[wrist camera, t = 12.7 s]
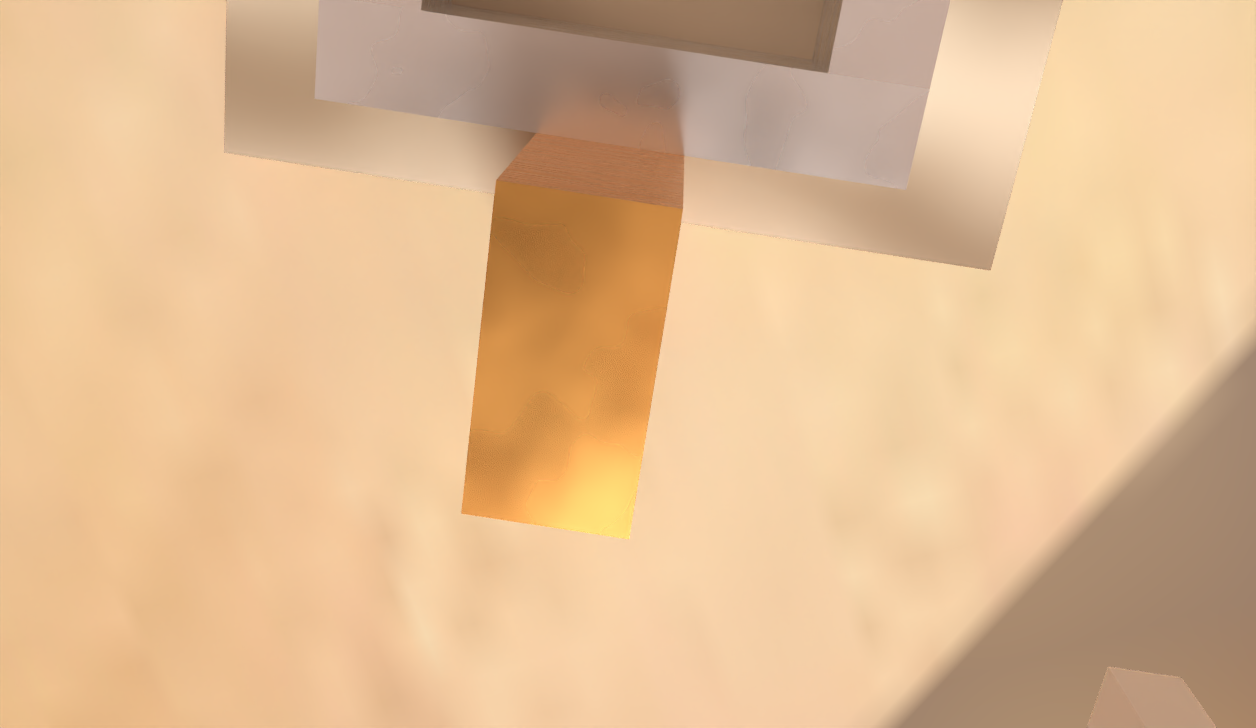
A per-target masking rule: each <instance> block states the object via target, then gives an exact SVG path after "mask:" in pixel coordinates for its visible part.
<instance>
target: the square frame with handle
mask: <svg viewBox="0 0 1256 728" xmlns="http://www.w3.org/2000/svg"><path fill="white" fill-rule="evenodd" d="M949 5H950V0H824V1H823V6H822V12H821V17H820V22H819V27H818V32H817V37H816V42H815V47H814V52H813V57H812V60H810V59H804V58H797V57H791V56H784V55H778V54H772V53H765V52H759V51H752V50H746V49H739V48H733V47H726V46H720V45H713V44H707V43H700V42H694V41H687V40H681V39H674V38H668V37H661V36H655V35H649V34H642V33H636V32H629V31H623V30H616V29H610V28H603V27H597V26H590V25H584V24H577V23H571V22H564V21H558V20H551V19H545V18H539V17H532V16H526V15H519V14H513V13H506V12H500V11H493V10H487V9H480V8H474V7H467V6H461V5H454V4H452V0H319V10H318V33H317V55H316V77H315V99H320V100H326V101H333V102H339V103H346V104H352V105H358V106H365V107H371V108H378V109H384V110H391V111H397V112H404V113H410V114H417V115H423V116H430V117H436V118H443V119H449V120H456V121H462V122H469V123H475V124H482V125H488V126H495V127H501V128H508V129H514V130H521V131H527V132H533V133H536V134H535V135H534V136H533V138H532V139H531V140H530V141H529V142H528V143H527V145H526V146H525V147H524V148H523V149H522V150H521V152H520V153H519V154H518V155H517V156H516V157H515V159H514V160H513V161H512V162H511V163H510V164H509V166H508V167H507V168H506V169H505V170H504V171H503V173H502V174H501V175H500V176H499V177H498V178H497V180H496V185H495V195H494V204H493V214H492V224H491V233H490V243H489V253H488V262H487V272H486V282H485V291H484V301H483V310H482V320H481V330H480V339H479V349H478V359H477V368H476V378H475V388H474V397H473V407H472V417H471V426H470V436H469V445H468V455H467V465H466V474H465V484H464V494H463V503H462V514H468V515H475V516H481V517H488V518H494V519H501V520H507V521H514V522H520V523H527V524H533V525H540V526H546V527H553V528H559V529H566V530H572V531H579V532H585V533H592V534H598V535H605V536H611V537H618V538H624V539H629V535H630V529H631V523H632V517H633V511H634V505H635V499H636V493H637V486H638V480H639V474H640V468H641V462H642V456H643V450H644V444H645V438H646V432H647V426H648V420H649V414H650V408H651V401H652V395H653V389H654V383H655V377H656V371H657V365H658V359H659V353H660V347H661V341H662V335H663V329H664V323H665V316H666V310H667V304H668V298H669V292H670V286H671V280H672V274H673V268H674V262H675V256H676V250H677V244H678V237H679V231H680V225H681V219H682V213H683V194H684V156H689V157H695V158H702V159H708V160H715V161H721V162H728V163H734V164H741V165H747V166H754V167H760V168H767V169H773V170H780V171H786V172H793V173H799V174H806V175H812V176H819V177H825V178H832V179H838V180H845V181H851V182H857V183H864V184H870V185H877V186H883V187H890V188H896V189H903V190H906V188H907V184H908V179H909V175H910V171H911V167H912V162H913V158H914V154H915V150H916V145H917V141H918V137H919V133H920V128H921V124H922V120H923V115H924V111H925V107H926V103H927V98H928V94H929V90H930V86H931V81H932V77H933V73H934V69H935V64H936V60H937V56H938V52H939V47H940V43H941V39H942V35H943V30H944V26H945V22H946V17H947V13H948V9H949Z"/></svg>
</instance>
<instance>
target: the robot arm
mask: <svg viewBox="0 0 1256 728" xmlns="http://www.w3.org/2000/svg"><path fill="white" fill-rule="evenodd" d="M1087 728H1217V727H1216V726H1215V725H1214V723H1213V722H1212V720H1211V719H1210V717H1209V716H1208V715H1207V713H1206V712H1205V710H1204V709H1203V707H1202V706H1201V705H1200V703H1199V702H1198V700H1197V699H1196V698H1195V696H1194V695H1193V693H1192V692H1191V690H1190V689H1189V688H1188V686H1187V685H1186V683H1185V682H1184V681H1183V679H1182V678H1181V677H1176V676H1170V675H1163V674H1155V673H1149V672H1143V671H1136V670H1129V669H1122V668H1115V667H1108V668H1107V671H1106V674H1105V677H1104V680H1103V682H1102V685H1101V688H1100V691H1099V694H1098V697H1097V700H1096V702H1095V705H1094V708H1093V711H1092V714H1091V717H1090V720H1089V723H1088V725H1087Z"/></svg>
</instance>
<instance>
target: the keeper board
mask: <svg viewBox="0 0 1256 728" xmlns="http://www.w3.org/2000/svg"><path fill="white" fill-rule="evenodd" d="M823 1H824V0H452V4H454V5H461V6H467V7H474V8H480V9H487V10H493V11H500V12H506V13H513V14H519V15H526V16H532V17H539V18H545V19H551V20H558V21H564V22H571V23H577V24H584V25H590V26H597V27H603V28H610V29H616V30H623V31H629V32H636V33H642V34H649V35H655V36H661V37H668V38H674V39H681V40H687V41H694V42H700V43H707V44H713V45H720V46H726V47H733V48H739V49H746V50H752V51H759V52H765V53H772V54H778V55H784V56H791V57H797V58H804V59H810V60H812V57H813V52H814V47H815V42H816V37H817V32H818V27H819V22H820V17H821V12H822V6H823ZM1062 2H1063V0H950V5H949V9H948V13H947V17H946V22H945V26H944V30H943V35H942V39H941V43H940V47H939V52H938V56H937V60H936V64H935V69H934V73H933V77H932V81H931V86H930V90H929V94H928V98H927V103H926V107H925V111H924V115H923V120H922V124H921V128H920V133H919V137H918V141H917V145H916V150H915V154H914V158H913V162H912V167H911V171H910V175H909V179H908V184H907V188H906V190H903V189H896V188H890V187H883V186H877V185H870V184H864V183H857V182H851V181H845V180H838V179H832V178H825V177H819V176H812V175H806V174H799V173H793V172H786V171H780V170H773V169H767V168H760V167H754V166H747V165H741V164H734V163H728V162H721V161H715V160H708V159H702V158H695V157H689V156H684V194H683V213H682V219H681V223H685V224H691V225H698V226H704V227H711V228H717V229H724V230H730V231H737V232H743V233H750V234H756V235H763V236H769V237H776V238H782V239H789V240H795V241H802V242H809V243H815V244H822V245H828V246H835V247H841V248H848V249H854V250H861V251H867V252H874V253H880V254H887V255H893V256H900V257H906V258H913V259H919V260H926V261H932V262H939V263H945V264H952V265H958V266H965V267H971V268H978V269H984V270H991V267H992V263H993V259H994V255H995V252H996V248H997V244H998V240H999V237H1000V233H1001V229H1002V225H1003V222H1004V218H1005V214H1006V211H1007V207H1008V203H1009V199H1010V196H1011V192H1012V188H1013V184H1014V181H1015V177H1016V173H1017V170H1018V166H1019V162H1020V158H1021V155H1022V151H1023V147H1024V143H1025V140H1026V136H1027V132H1028V128H1029V125H1030V121H1031V117H1032V114H1033V110H1034V106H1035V102H1036V99H1037V95H1038V91H1039V87H1040V84H1041V80H1042V76H1043V72H1044V69H1045V65H1046V61H1047V58H1048V54H1049V50H1050V46H1051V43H1052V39H1053V35H1054V31H1055V28H1056V24H1057V20H1058V17H1059V13H1060V9H1061V5H1062ZM318 10H319V0H227V12H226V72H225V131H224V153H230V154H236V155H243V156H249V157H256V158H262V159H269V160H275V161H282V162H288V163H295V164H301V165H308V166H314V167H321V168H327V169H334V170H340V171H347V172H353V173H360V174H366V175H373V176H379V177H386V178H392V179H399V180H405V181H412V182H418V183H425V184H431V185H438V186H444V187H451V188H457V189H464V190H470V191H477V192H483V193H490V194H495V185H496V180H497V178H498V177H499V176H500V175H501V174H502V173H503V171H504V170H505V169H506V168H507V167H508V166H509V164H510V163H511V162H512V161H513V160H514V159H515V157H516V156H517V155H518V154H519V153H520V152H521V150H522V149H523V148H524V147H525V146H526V145H527V143H528V142H529V141H530V140H531V139H532V138H533V136H534V135H535V134H536V133H533V132H527V131H521V130H514V129H508V128H501V127H495V126H488V125H482V124H475V123H469V122H462V121H456V120H449V119H443V118H436V117H430V116H423V115H417V114H410V113H404V112H397V111H391V110H384V109H378V108H371V107H365V106H358V105H352V104H346V103H339V102H333V101H326V100H320V99H315V77H316V55H317V33H318Z"/></svg>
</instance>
